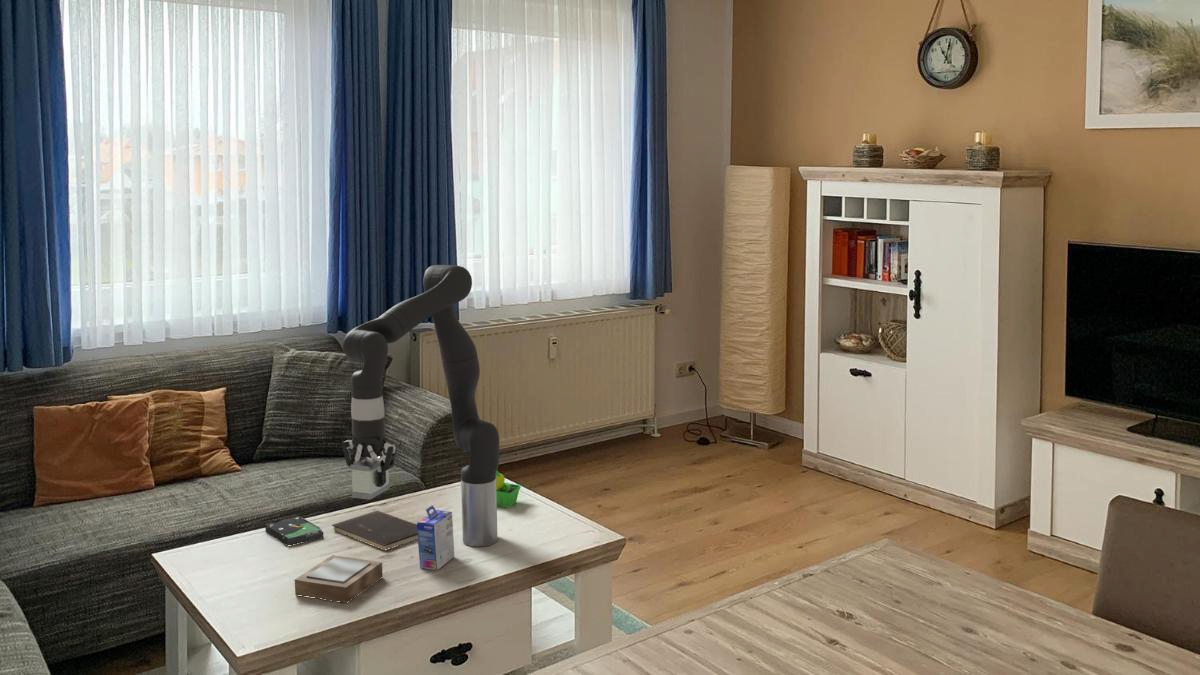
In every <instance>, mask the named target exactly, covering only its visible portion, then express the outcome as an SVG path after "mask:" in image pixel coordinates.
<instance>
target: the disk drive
mask: <svg viewBox="0 0 1200 675" xmlns="http://www.w3.org/2000/svg"><path fill="white" fill-rule="evenodd" d="M264 526H265V527H264V529H265V533H266V534H268V535H270V536H272V537H274V538H275V539H276V538H277V539H276V540H279V541H280V542H281V541H282V542H281V543H283V544H284V543H285V544H284V545H286V544H287V545H292V546H294V545H293V544H296V545H298V544H297V543H300V544H302V543H301V542H304V543H307V542H310V541H309V540H311V541H314V540H313V539H315V540H318V538H319V539H322V538H321V537H323V538H324V531H323V530H322V528H321V527H319V526H317V525H316V524H314V523H313V522H310V521H308V520H307V519H305V518H303V517H302V516H300V515H297V516H294V517H290V518H285V519H280V520H279V521H277V522H269V523H268V522H267V523H265V524H264ZM306 541H307V542H306ZM287 545H286V546H287Z"/></svg>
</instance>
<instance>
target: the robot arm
mask: <svg viewBox="0 0 1200 675" xmlns="http://www.w3.org/2000/svg"><path fill="white" fill-rule="evenodd" d="M422 279H423V281H422V285H423V291H424V292H422V293H420V294H418V295H416V296H413V297H410V298H407V299H406V300H402V301H401V302H399V303H397V304H395V305H394V306H391V308H389V309H387V311H385V312H383V313H382V314H381V315H380V316H378V318H374V319H372V320H369V321H367V322H364V323H362V324H361V325H358V326H356V327H354V328H352V329H351V330H350V331H348V332H347V333H346V335H345V336H344V339H343V340H342V345H341V346H342V351H343V353H344V354H345V356H346V357H348V358H349V359H351V360H356V361H361V362H363V366H362V369H361V370H357V371H355V372H353V373H352V374H351V377H350V381H351V382H350V383H351V405H350V411H351V414H350V415H351V433H352V436H353V437H352V439H347V440H345V441H342V442H341V448H342V451H343V455H344V459H345V462H346V465H347V467H351V464H353V463H355V462H357V461H360V460H362V459H364V458H366V457H369V458H372V461H373V463H376V467H377V471H378V472H377V486H378V487H382V486H384V484H385V483H386V470H390V469H392V468H393V467H394V465H395V459H396V455H397V449H398V445H397V444H395V443H394V444H390V443H388V442H387V440H386V438H385V435H386V434H385V433H386V420H385V403H384V402H385V401H384V396H383V376H384V373H385V372H384V371H385V367H386V363H387V358H388V353H389V347H388V345H389V344H392V343H395V342H397V341H399V340H400V339H402V337H404V336H406V334H407V333H409V332H410V331H412V330H413V329H414V328H416V327H417V326H418V325H420V324H421V323H423V322H425V321H426V320H428V319H429V318H431V317H432V321H433V326H434V328H435V333H436V338H437V342H438V345H439V352H440V359H441V363H442V369H443V373H444V376H445V381H446V387H447V392H448V398H449V402H450V409H451V410H450V411H451V419H452V421H451V422H452V432H453V439H454V442H455V444H456V445H457V447H458V449H460V450H461V451H463V452H466V453H468V454H469V460H468V461H469V462H468V465H466V466H463V467H462V469H460V487H461V488H460V489H461V491H460V492H461V521H462V522H461V525H462V526H461V527H462V528H461V529H462V543H463V544H465V545H466V546H470V547H486V546H490V545H493V544H495V543H496V542H497V541H498V506H497V500H496V472H497V471H498V470H499V464H500V434H499V431H498V428H497V427H496V426H495V425H494V424H493V423H491V422H489V421H485V420H482V419H480V416H479V414H478V408H477V405H476V404H477V403H476V391H477V386H478V383H479V380H480V376H481V375H480V373H481V368H480V362H479V357H478V351H477V348H476V344H475V343H474V341H473V339H472V337H471V336H470V335H469V333H468V332H467V330H466V329H465V328H464V326H463V325H462V324H461V322H460V320H459V319H458V317H457V314H456V312H455V310H454V305H455V304H458V303H459V302H462V301H463V300H464V299H466V298H467V297H468V296H469V294H470V293H471V291H472V287H473V278H472V275H471V273H470V272H469V269H467V268H466V267H464V266H461V265H455V264H453V265H452V264H434V265H430V266H428V267H427V269H426V270H425V272H424V275H423V278H422ZM355 450H356V452H355ZM384 450H385V451H384ZM385 454H386V455H385ZM384 455H385V456H386V458H385V457H384ZM377 456H378V458H377ZM384 459H385V460H384ZM380 461H381V463H380Z"/></svg>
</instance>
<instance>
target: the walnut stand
mask: <svg viewBox="0 0 1200 675" xmlns="http://www.w3.org/2000/svg"><path fill="white" fill-rule="evenodd" d="M381 577H384V575H383V562H382V561H376V560H368V559H362V558H356V557H349V556H342V555H337V554H336V555H334V554H332V555H331V556H328V557H327V558H326V559H324V560H323V561H321V562H320V563H318V564H317V565H315V566H313V567H312V568H310V569H309V570H307V571H305V572H304V573H302V574H301V575H300V576H298V577H296V578H294V594H295V595H302V596H309V597H315V598H322V599H326V600H325V601H327V600H332V601H331V602H333V601H340V602H344V603H343V604H345V603H347V602H348V601H350V600H351V599H353V598H354V597H355V596H357V595H358V594H359V595H361V594H362V593H364V592H365V591H366V590H367V588H368V587H369V586H370V587H371V585H372V584H373V585H375V584H376V583H377V582H378V581H377V580H379V579H380V578H381ZM381 579H382V578H381ZM381 579H380V580H381ZM380 580H379V581H380ZM376 581H377V582H376ZM375 582H376V583H375ZM373 585H372V586H373ZM370 587H369V588H370ZM369 588H368V589H369ZM365 589H366V590H365ZM364 590H365V591H364ZM363 591H364V592H363ZM361 592H362V593H361ZM360 593H361V594H360ZM359 595H358V596H359ZM358 596H357V597H358ZM355 598H356V597H355ZM355 598H354V599H355ZM354 599H353V600H354ZM351 601H352V600H351ZM351 601H350V602H351ZM347 604H348V603H347Z"/></svg>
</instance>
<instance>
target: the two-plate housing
mask: <svg viewBox="0 0 1200 675" xmlns="http://www.w3.org/2000/svg"><path fill="white" fill-rule="evenodd" d="M384 457H385V458H386V455H385V454H384ZM377 458H378V456H377ZM384 460H385V459H384ZM380 463H381V461H380ZM350 470H351V481H352V484H351V486H352V487H351V488H352V489H351V490H352V493H351V498H353V499H354V498H355V499H359V500H360V499H363V500H372V499H375V498H376V497H377V496H379V495H380V494H382V493H384V492H386V491H388V490H389V489H390V488H391V487H390V486H391V483H390V479H389V478H390V476H389V474H390V472H389V470H390V469H388V470H386V483H385V484H384V486H382V487H378V486H377V472H378V471H377V467H376V463H373V461H372V458H369V457H366V458H364V459H362V460H360V461H357V462H355V463H353V464H351V466H350Z"/></svg>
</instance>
